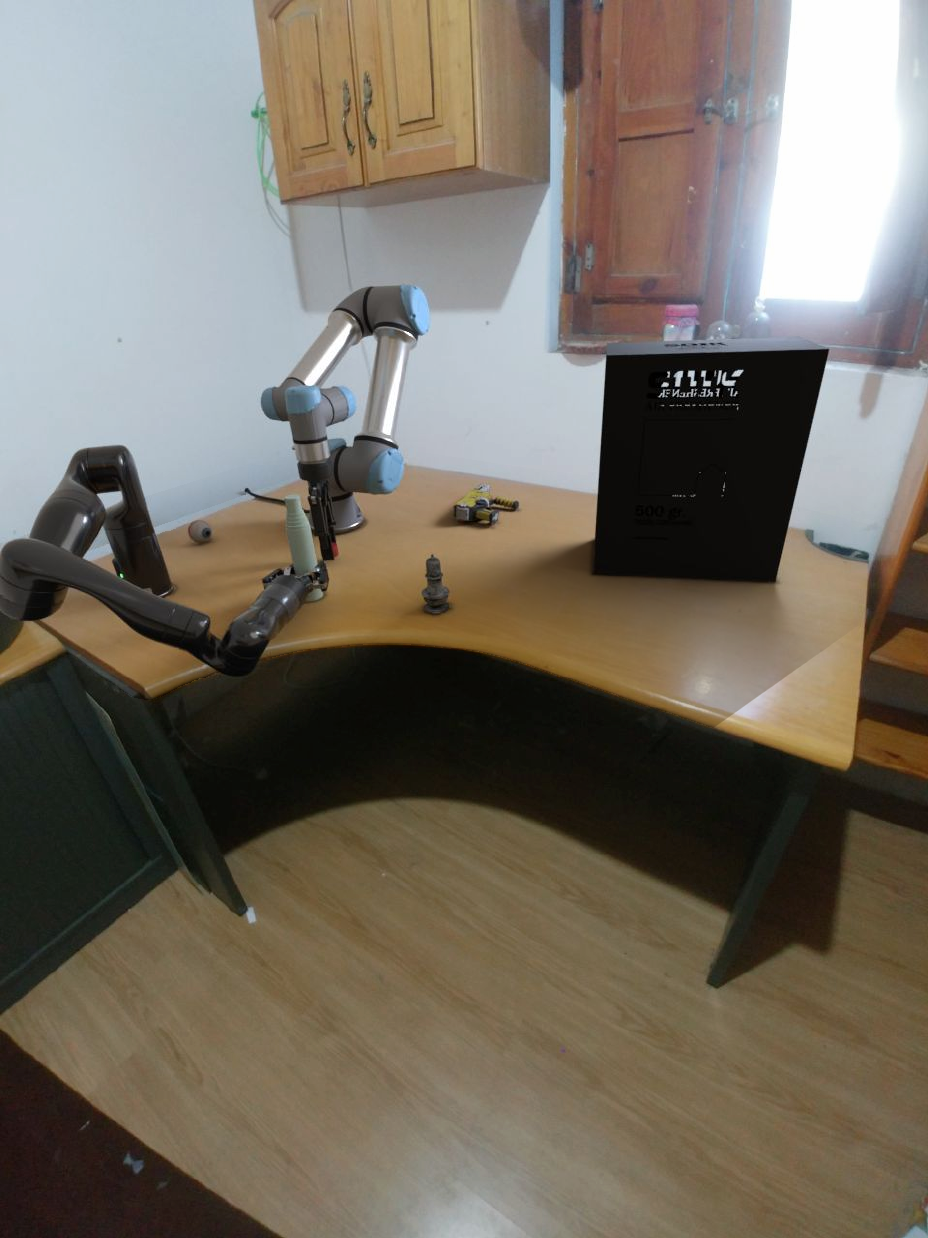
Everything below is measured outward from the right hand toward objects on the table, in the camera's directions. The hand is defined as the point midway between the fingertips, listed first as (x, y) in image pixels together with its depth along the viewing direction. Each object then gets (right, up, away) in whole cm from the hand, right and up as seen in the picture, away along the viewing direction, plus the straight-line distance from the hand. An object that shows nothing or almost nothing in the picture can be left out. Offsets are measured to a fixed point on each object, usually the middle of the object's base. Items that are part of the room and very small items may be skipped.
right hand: (330, 555), depth 146 cm
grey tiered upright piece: (+27, -13, -22) cm, 37 cm away
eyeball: (-38, +5, +17) cm, 42 cm away
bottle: (-1, -10, -14) cm, 18 cm away
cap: (0, +2, -1) cm, 2 cm away
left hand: (-1, -4, -15) cm, 16 cm away
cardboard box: (+82, -2, -7) cm, 82 cm away
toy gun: (+40, +15, +26) cm, 51 cm away
